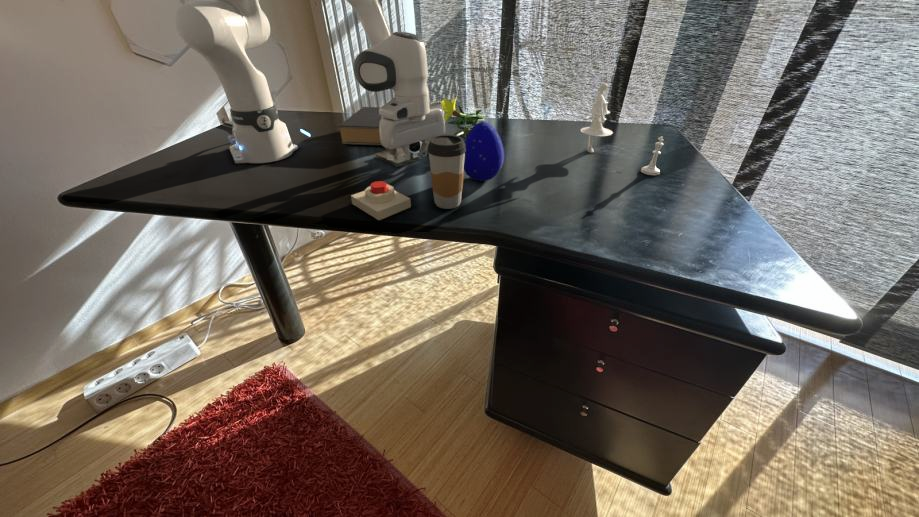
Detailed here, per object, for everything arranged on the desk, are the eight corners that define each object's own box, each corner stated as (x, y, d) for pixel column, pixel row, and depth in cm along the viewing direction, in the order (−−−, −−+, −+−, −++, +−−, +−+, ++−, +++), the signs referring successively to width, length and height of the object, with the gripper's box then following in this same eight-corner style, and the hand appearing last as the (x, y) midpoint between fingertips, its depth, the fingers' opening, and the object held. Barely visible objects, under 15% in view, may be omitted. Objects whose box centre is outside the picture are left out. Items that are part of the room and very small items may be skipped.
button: (368, 191, 82) (367, 184, 81) (381, 186, 84) (380, 179, 83) (377, 196, 80) (376, 189, 79) (390, 191, 82) (389, 184, 81)
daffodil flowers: (508, 135, 131) (489, 137, 99) (473, 154, 136) (444, 161, 105) (488, 91, 128) (462, 78, 96) (453, 112, 133) (418, 106, 102)
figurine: (612, 159, 109) (630, 87, 97) (579, 157, 110) (594, 86, 98) (603, 145, 120) (619, 79, 108) (574, 143, 121) (586, 78, 109)
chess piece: (648, 176, 99) (660, 139, 93) (636, 169, 103) (647, 134, 97) (663, 174, 100) (676, 138, 94) (651, 167, 104) (663, 132, 98)
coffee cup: (464, 195, 89) (465, 133, 80) (466, 211, 82) (467, 146, 73) (430, 195, 89) (427, 134, 80) (429, 211, 82) (426, 146, 73)
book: (410, 126, 137) (408, 107, 133) (394, 148, 116) (391, 127, 112) (365, 124, 138) (363, 106, 134) (342, 146, 118) (338, 125, 114)
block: (352, 203, 85) (349, 188, 82) (383, 192, 90) (381, 177, 88) (378, 220, 78) (376, 204, 76) (411, 207, 84) (409, 191, 81)
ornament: (506, 176, 98) (510, 120, 89) (493, 189, 91) (497, 129, 83) (469, 169, 102) (470, 114, 93) (454, 181, 95) (454, 123, 87)
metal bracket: (419, 160, 108) (416, 115, 100) (397, 167, 103) (393, 121, 96) (397, 151, 114) (392, 108, 107) (376, 157, 110) (370, 113, 102)
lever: (421, 153, 102) (424, 143, 99) (411, 156, 100) (414, 146, 97) (394, 122, 105) (397, 111, 102) (384, 124, 103) (386, 114, 100)
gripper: (434, 97, 101) (436, 146, 109) (373, 110, 90) (380, 163, 98) (449, 101, 98) (450, 151, 106) (387, 114, 86) (393, 169, 94)
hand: (416, 157), depth 102 cm, fingers open, 3 cm apart
